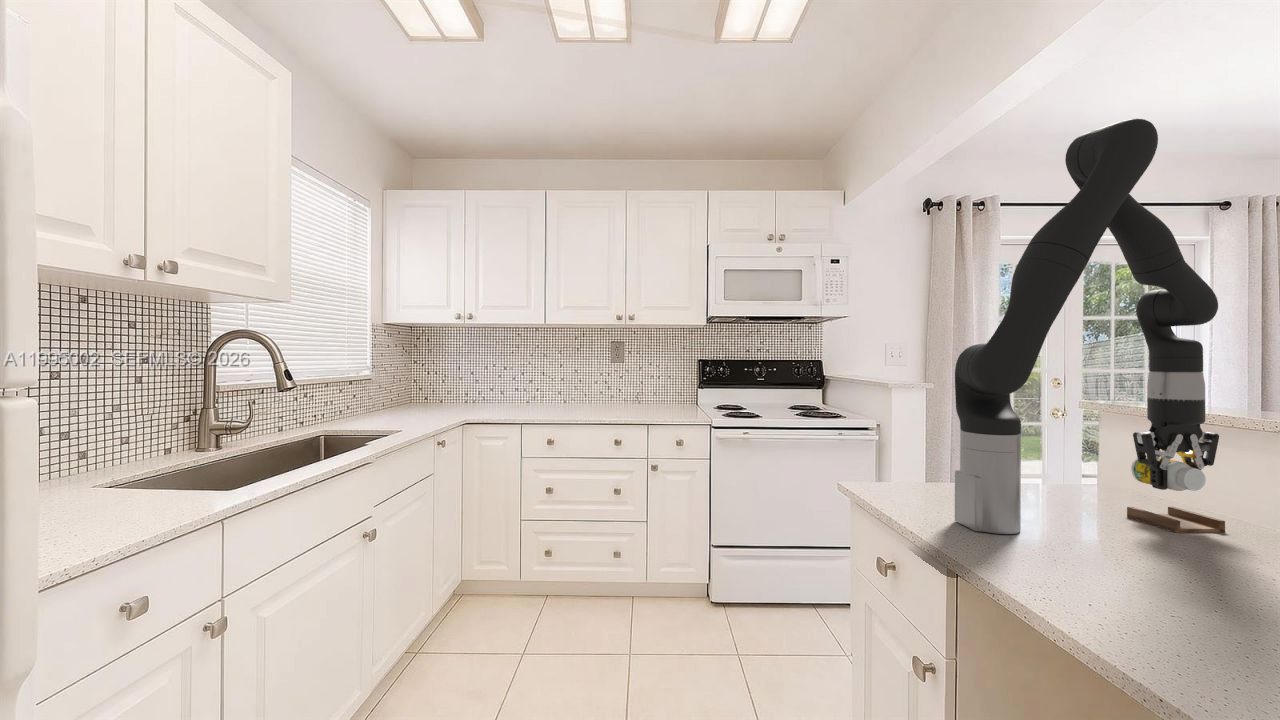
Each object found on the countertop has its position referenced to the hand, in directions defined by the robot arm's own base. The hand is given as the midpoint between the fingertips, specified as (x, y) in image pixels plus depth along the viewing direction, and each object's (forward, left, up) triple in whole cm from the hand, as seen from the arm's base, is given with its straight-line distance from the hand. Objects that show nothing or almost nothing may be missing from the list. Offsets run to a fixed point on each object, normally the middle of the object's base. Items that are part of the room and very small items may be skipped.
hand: (1175, 488), depth 98 cm
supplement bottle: (0, +6, +2) cm, 7 cm away
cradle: (0, 0, -7) cm, 7 cm away
